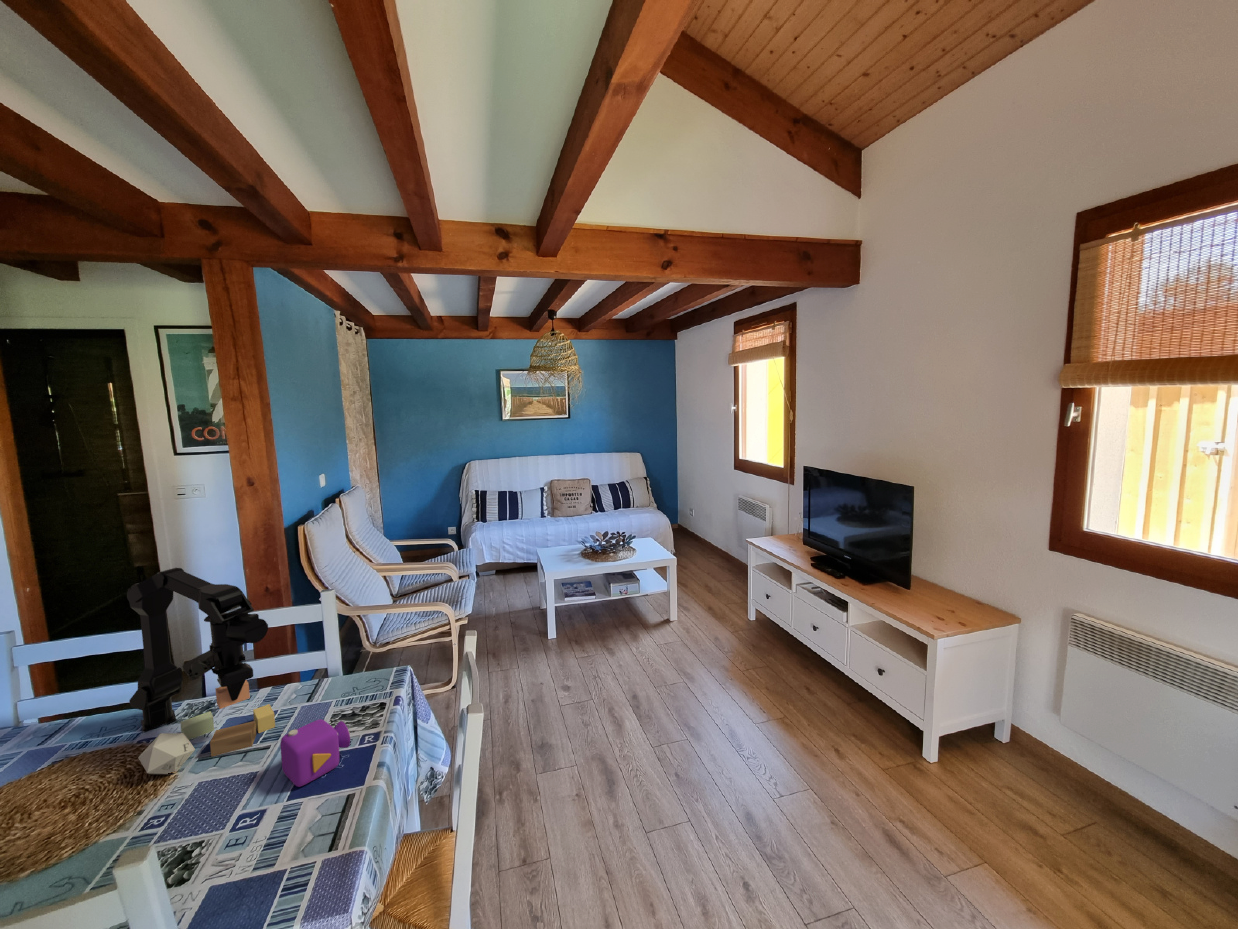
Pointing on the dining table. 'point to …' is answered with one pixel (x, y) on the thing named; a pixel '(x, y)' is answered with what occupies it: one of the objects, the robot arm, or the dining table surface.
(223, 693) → the terracotta brick
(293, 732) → the toy camera
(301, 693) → the dining table surface
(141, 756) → the die
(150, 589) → the robot arm
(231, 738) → the walnut base
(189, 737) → the sage brick
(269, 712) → the ochre brick
